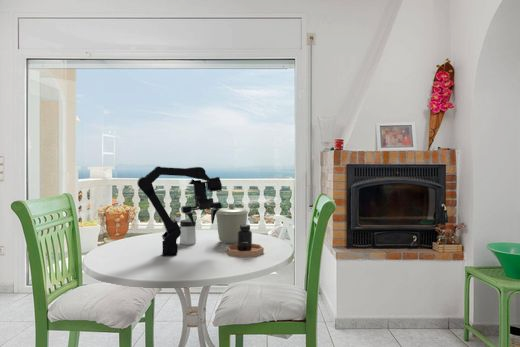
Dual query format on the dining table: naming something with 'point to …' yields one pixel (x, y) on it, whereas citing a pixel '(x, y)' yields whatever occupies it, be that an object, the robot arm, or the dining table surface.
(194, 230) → the jar
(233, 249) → the terracotta octagonal tray
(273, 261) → the dining table surface
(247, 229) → the supplement bottle
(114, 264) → the dining table surface
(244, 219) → the canister
